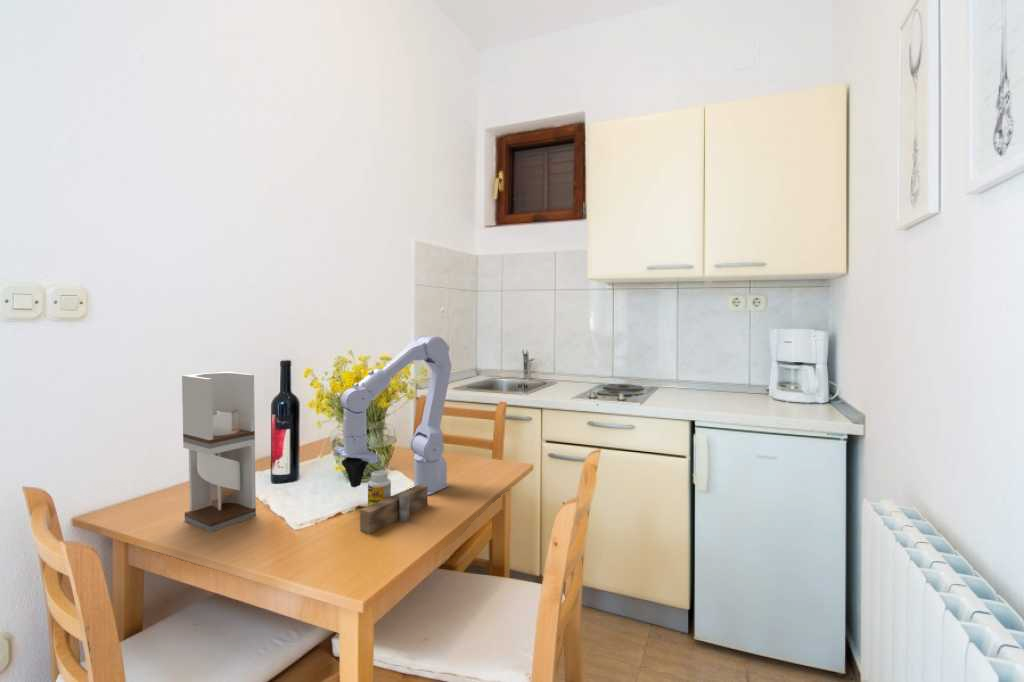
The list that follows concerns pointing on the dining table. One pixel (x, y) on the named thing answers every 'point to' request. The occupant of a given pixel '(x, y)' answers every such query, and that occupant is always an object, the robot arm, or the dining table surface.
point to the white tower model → (219, 448)
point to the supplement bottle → (378, 487)
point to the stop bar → (393, 509)
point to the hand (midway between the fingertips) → (355, 485)
